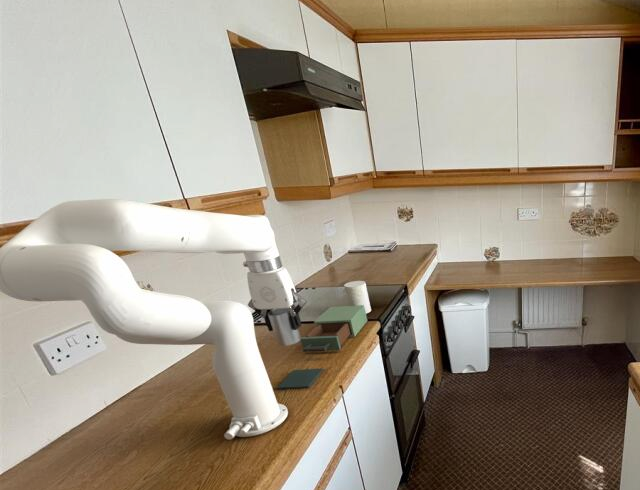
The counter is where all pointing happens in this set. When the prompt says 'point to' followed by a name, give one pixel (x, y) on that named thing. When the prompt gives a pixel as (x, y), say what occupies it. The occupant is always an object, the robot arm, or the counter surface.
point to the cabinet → (345, 317)
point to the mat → (300, 379)
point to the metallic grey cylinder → (283, 327)
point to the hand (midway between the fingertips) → (285, 328)
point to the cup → (357, 294)
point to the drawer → (326, 337)
